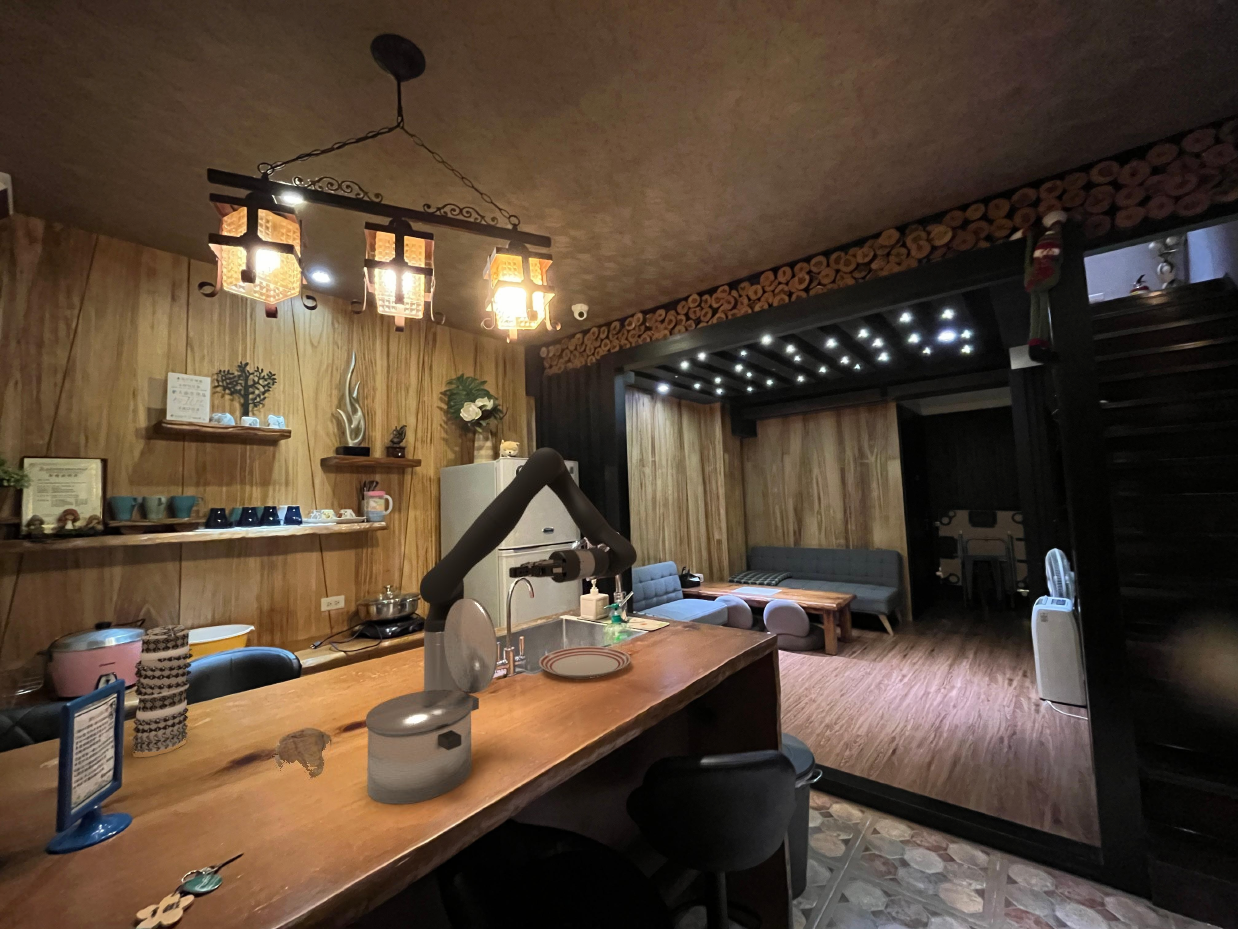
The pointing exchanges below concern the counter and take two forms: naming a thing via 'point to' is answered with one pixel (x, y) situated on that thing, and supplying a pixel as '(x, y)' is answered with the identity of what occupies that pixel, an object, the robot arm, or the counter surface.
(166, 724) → the decorative candle
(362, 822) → the counter surface
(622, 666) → the dinner plate
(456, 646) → the cooker lid
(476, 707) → the cooker pot
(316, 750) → the fish fossil
